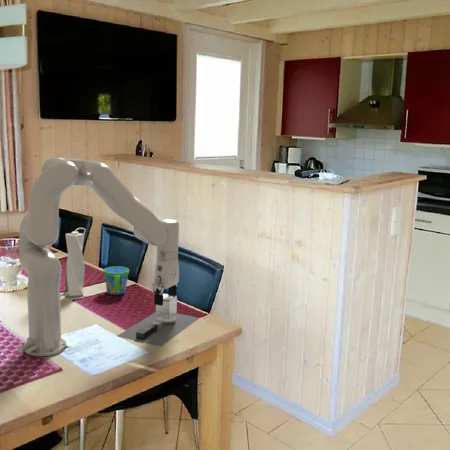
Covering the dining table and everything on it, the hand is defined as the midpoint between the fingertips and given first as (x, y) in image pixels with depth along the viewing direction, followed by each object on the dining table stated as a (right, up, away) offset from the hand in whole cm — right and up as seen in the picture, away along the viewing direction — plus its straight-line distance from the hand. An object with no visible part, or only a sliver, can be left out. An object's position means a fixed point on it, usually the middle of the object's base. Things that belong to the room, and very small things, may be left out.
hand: (165, 300), depth 184 cm
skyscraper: (-40, -2, +28) cm, 50 cm away
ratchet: (-3, -9, -5) cm, 10 cm away
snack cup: (-25, -2, +33) cm, 41 cm away
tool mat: (-2, -9, -3) cm, 10 cm away
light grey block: (0, -5, +1) cm, 6 cm away
